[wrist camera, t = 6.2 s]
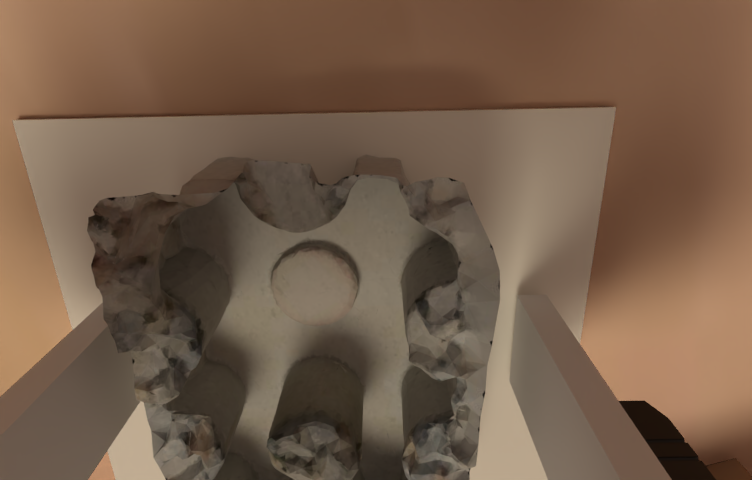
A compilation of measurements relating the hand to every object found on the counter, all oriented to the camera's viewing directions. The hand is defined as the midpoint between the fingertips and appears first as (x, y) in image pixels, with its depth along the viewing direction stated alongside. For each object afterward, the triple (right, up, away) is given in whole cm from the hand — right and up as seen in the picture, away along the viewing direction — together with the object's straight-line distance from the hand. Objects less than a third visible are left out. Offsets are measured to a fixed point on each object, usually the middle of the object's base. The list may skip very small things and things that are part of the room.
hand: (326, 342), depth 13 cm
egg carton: (0, 0, 0) cm, 0 cm away
